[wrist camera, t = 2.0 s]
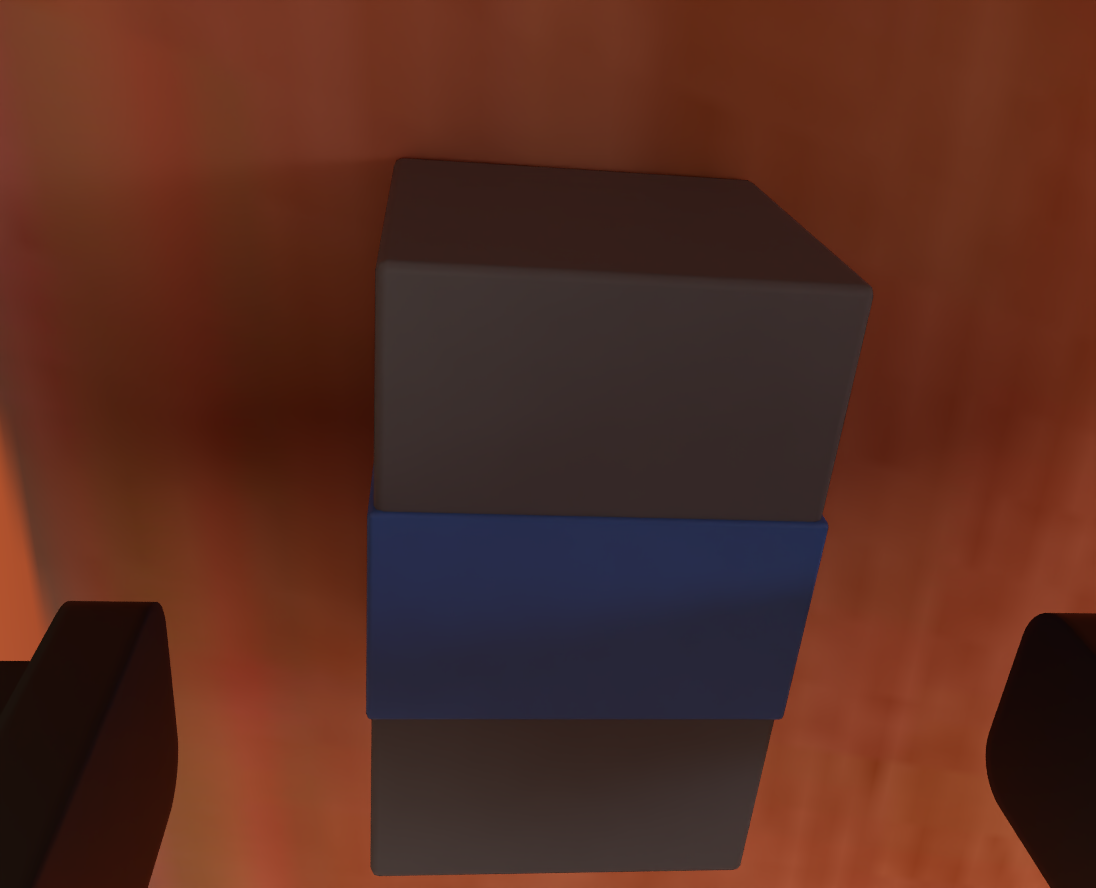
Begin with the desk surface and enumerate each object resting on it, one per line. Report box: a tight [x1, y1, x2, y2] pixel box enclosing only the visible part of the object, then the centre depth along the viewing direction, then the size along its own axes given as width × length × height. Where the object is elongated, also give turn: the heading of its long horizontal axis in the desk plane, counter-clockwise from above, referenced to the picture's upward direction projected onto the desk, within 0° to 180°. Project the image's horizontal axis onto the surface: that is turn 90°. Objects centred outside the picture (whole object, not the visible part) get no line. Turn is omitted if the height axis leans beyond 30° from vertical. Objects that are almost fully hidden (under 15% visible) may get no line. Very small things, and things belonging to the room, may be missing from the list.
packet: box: [366, 158, 873, 876], centre depth 12 cm, size 7×4×4 cm, turn 175°
